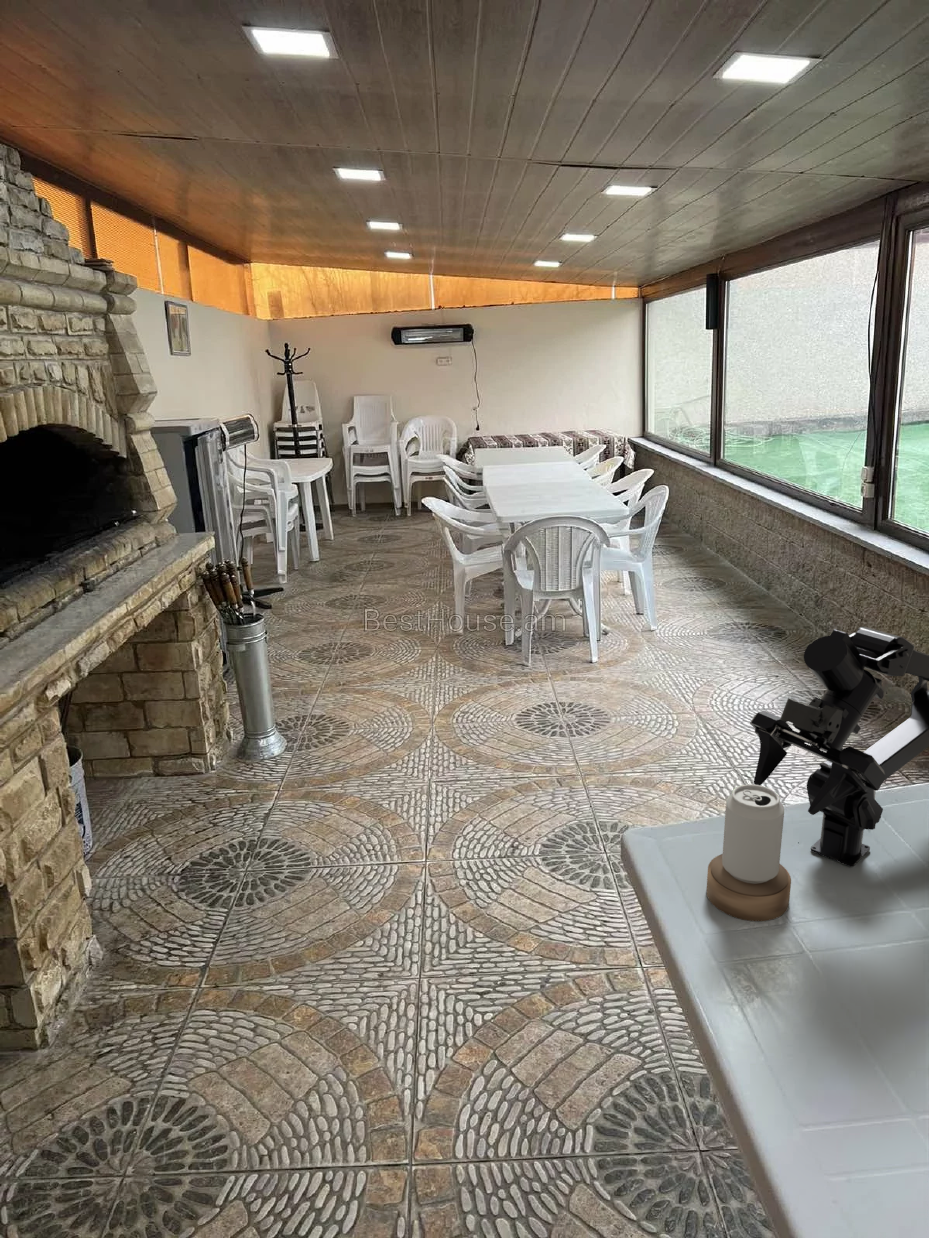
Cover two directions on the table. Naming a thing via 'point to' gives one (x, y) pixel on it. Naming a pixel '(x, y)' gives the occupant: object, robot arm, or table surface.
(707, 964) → the table surface
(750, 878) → the can
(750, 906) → the brown wooden disc
